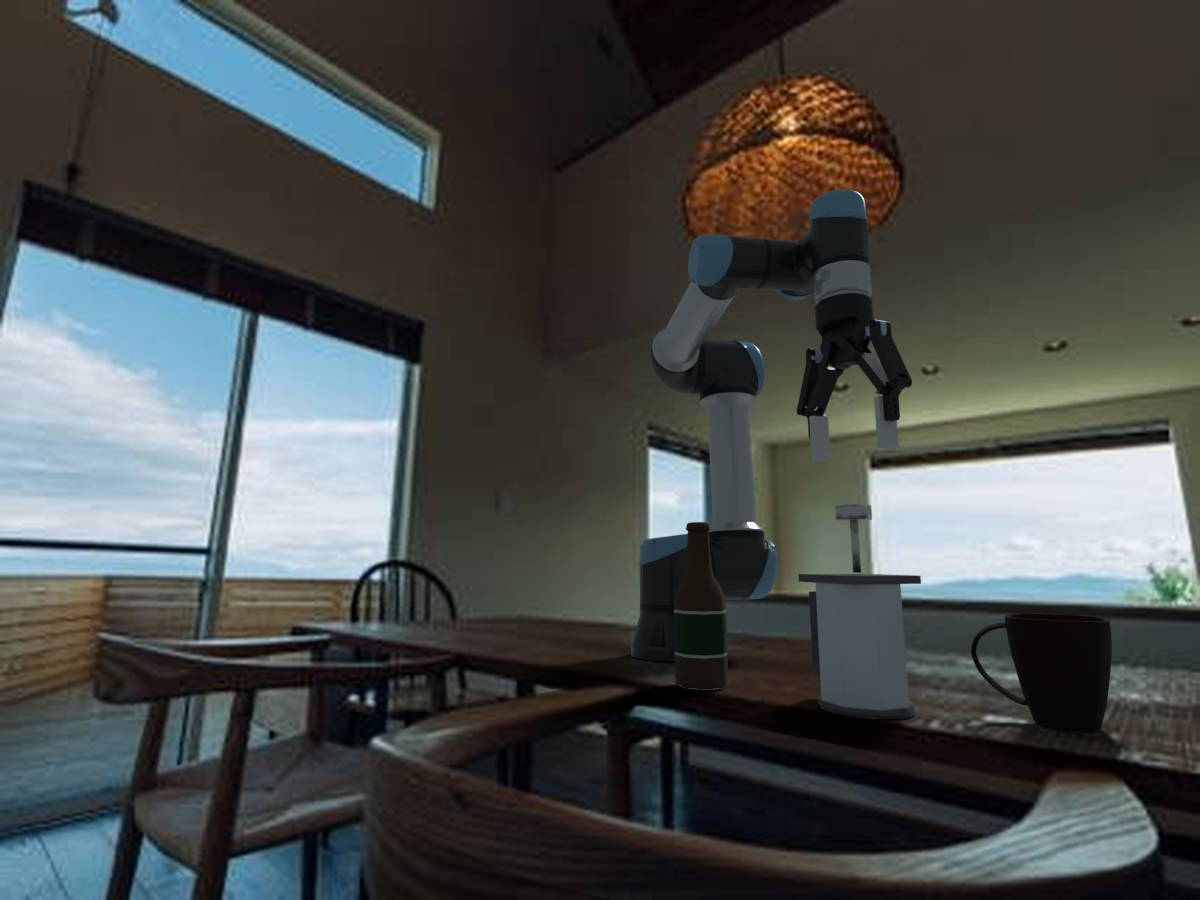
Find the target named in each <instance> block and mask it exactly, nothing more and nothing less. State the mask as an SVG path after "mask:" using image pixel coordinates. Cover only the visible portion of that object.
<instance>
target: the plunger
mask: <svg viewBox="0 0 1200 900" xmlns="http://www.w3.org/2000/svg"><path fill="white" fill-rule="evenodd" d="M834 506H835V505H834ZM834 508H835V521H840V522H841V521H843V522H845V521H846V522H847V521H848V522H849V528H850V543H851V544H850V545H851V558H852V559H851V560H852V561H851V562H852V573H853V574H862V563H861V561H862V560H861V547H860V546H861V545H860V531H859V529H860V528H859V521H871V520H873V515H872V514H873V513H872V511H873V510H872V505H871V504H842V505H836V506H835V507H834Z"/></svg>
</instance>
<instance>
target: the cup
mask: <svg viewBox="0 0 1200 900" xmlns="http://www.w3.org/2000/svg"><path fill="white" fill-rule="evenodd" d="M1004 620H1005V621H1003V622H997V623H991V624H990V625H988V626H985V627H983V628H982V629H980V630H979V631H978V632H976V634H975V636H974V637H973V638H972V643H971V647H970V649H971V650H970V652H971V653H970V654H971V659H972V661H973V663H974V666H975V667H976V669H977V671H978V673H979V674H980V675H981V676H982V678H984V680H985V681H986V682H987V683H988V684H989V685H990V686H991V687H992V688H994V689H995V690H996V691H998V692H999V693H1000V694H1001V695H1003V696H1004V697H1006V698H1008V699H1009V700H1010V701H1012V702H1014V703H1016V704H1018V705H1021V706H1027V708H1028V709H1029V710H1028V711H1029V712H1030V714H1031V717H1032V720H1033V721H1034V723H1035V724H1036V725H1037V726H1038V727H1039V728H1041V729H1046V730H1052V731H1058V732H1065V733H1074V734H1084V735H1094V734H1095V735H1096V734H1097V733H1099V732H1100V731H1101V729H1102V726H1103V723H1104V718H1105V714H1106V710H1107V705H1108V698H1109V692H1110V691H1109V690H1110V681H1111V670H1112V657H1113V653H1112V651H1113V646H1112V645H1113V644H1112V643H1113V642H1112V640H1113V639H1112V627H1111V621H1110V619H1109V618H1106V617H1100V616H1092V615H1090V616H1089V615H1078V614H1077V615H1074V614H1057V613H1056V614H1055V613H1054V614H1053V613H1026V612H1025V613H1023V612H1022V613H1021V612H1018V613H1017V612H1016V613H1009V614H1008V613H1007V614H1005V615H1004ZM999 629H1006V635H1007V636H1006V637H1007V641H1008V646H1009V650H1010V653H1011V658H1012V661H1013V666H1014V669H1015V671H1016V676H1017V678H1018V681H1019V685H1020V689H1021V691H1022V693H1023V694H1022V695H1023V697H1024V699H1023V698H1021V697H1018V696H1017V695H1014V694H1013V693H1011V692H1010V691H1008V690H1007V689H1005V688H1004V687H1002V686H1001V685H1000V683H998V682H996V681H995V679H993V677H991V676H990V675H989V674H988V673H987V671H986V670H985V669H984V667H983V666H982V664H981V662H980V659H979V657H978V654H977V648H978V644H979V641H980V639H981V638H982V637H983V636H985V635H986V634H987V633H989V632H992V631H994V630H999Z"/></svg>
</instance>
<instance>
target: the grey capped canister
mask: <svg viewBox="0 0 1200 900" xmlns="http://www.w3.org/2000/svg"><path fill="white" fill-rule="evenodd" d="M921 578H922V576H921V575H915V574H913V575H912V574H911V575H909V574H882V573H881V574H878V573H876V574H875V573H802V574H801V573H798V583H800V582H801V583H814V584H815V591H814V590H813V591H810V590H809V591H808V599H809V600H808V601H809V617H810V643H811V661H812V663H811V665H812V674H814V675H815V674H816V675H819V676H820V677H819V678H820V695H818V696H817V701H818V703H817V704H819V706H820V707H822V708H824V709H826V710H828V711H831V712H834V713H837V714H840V715H839V716H841V715H844V716H843V717H846V716H848V718H852V717H856V718H855V719H860V718H863V719H862V720H871V718H875V719H877V718H878V719H898V720H903V719H902V718H906V719H909V718H908V717H910V718H912V716H913V717H914V716H915V715H916V707H915V705H916V704H915V703H914V702H913V701H911V700H910V698H909V685H908V684H909V683H908V682H909V681H908V670H907V668H908V667H907V656H906V642H905V631H904V630H905V629H904V628H905V627H904V626H905V625H904V616H903V601H902V589H901V587H902V586H901V585H918V584H919V585H922V579H921ZM819 706H818V707H819ZM868 718H870V719H868Z"/></svg>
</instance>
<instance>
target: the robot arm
mask: <svg viewBox="0 0 1200 900" xmlns="http://www.w3.org/2000/svg"><path fill="white" fill-rule="evenodd" d="M865 203H866V202H865V199H864V197H863V195H862V194H861V193H859V192H858V191H856V190H852V189H842V188H841V189H833V190H831V191H828V192H824V193H823V194H821V195H819V196H817V197H816V198H815V199H814V200H813V202H811V204H810V207H809V217H808V222H809V229H808V230H807V231H806V232H805V233H804V234H803V235H802V236H801V237H800V238H799V239H798V240H786V239H776V238H774V239H773V238H760V237H759V238H758V237H751V236H750V237H747V236H739V235H728V234H724V233H723V234H722V233H718V234H701V235H698V236H697V237H696V238H695V239H693V241H692V244H691V245H690V246H691V247H690V252H689V255H688V258H687V259H688V260H687V264H688V265H687V272H688V274H687V275H688V278H689V280H690V283H689V285H688V286H687V288H686V290H685V292H684V294H683V296H682V298H681V299H680V302H678V305H677V307H676V308H675V311H674V313H673V314H672V316H671V318H670V320H669V321H668V323H667V325H666V327H665V328H663V329H661V330H660V331H659V332H658V333H657V334H656V335H655V337H654V338H653V340H652V342H651V345H650V347H649V352H648V353H649V355H648V357H649V358H648V359H649V364H650V368H651V370H652V372H653V373H654V376H655V377H656V379H658V380H659V381H660V383H661V384H662V385H664V386H665V387H666V388H668V389H670V390H672V391H674V392H677V393H681V394H690V395H691V394H692V395H699V404H700V406H701V407H702V408H704V409H705V411H706V412H707V423H708V424H707V425H708V427H707V429H708V447H709V468H710V469H709V470H710V473H709V474H710V489H711V491H710V493H711V511H712V512H711V513H712V524H711V525H709V526H710V529H711V530H709V531H708V532H709V543H710V555H711V566H712V571H713V576H714V578H715V579H716V581H717V582H718V583H719V585H720V586H721V589H722V592H723V594H724V597H725V601H726V600H727V601H730V600H732V601H735V600H736V601H739V600H740V601H747V600H759V599H763V598H765V597H766V596H768V594H770V592H771V591H772V588H773V586H774V585H775V583H776V582H775V581H776V580H777V579H776V578H777V574H778V566H779V562H778V561H779V560H778V552H777V550H776V546H775V544H774V543H773V542H772V541H771V540H768V539H765V530H764V528H762V527H761V526H760V525H759V524H758V523H757V521H756V520H757V518H756V507H755V506H756V503H755V489H754V488H755V487H754V471H753V455H752V438H751V435H752V434H751V421H750V408H751V407H752V406H753V405H754V404H756V401H757V398H756V397H757V396H760V394H761V393H762V391H763V389H764V386H765V381H764V379H766V367H765V366H766V365H765V362H764V358H763V355H762V353H761V350H760V349H759V348H758V347H757V346H756V345H755V344H754V343H752V342H747V341H741V340H737V339H731V340H723V339H707V338H708V336H709V335H710V333H711V332H712V330H713V328H714V327H715V326H716V324H717V323H718V321H719V320H720V318H721V317H722V315H723V314H724V312H725V310H727V308H728V307H729V305H730V304H731V302H732V300H733V299H734V298H735V296H736V295H737V293H739V291H740V289H752V290H753V289H755V290H759V289H760V290H771V291H772V290H773V291H774V292H775V293H776V295H778V296H780V297H781V298H783V299H784V300H786V301H790V302H798V301H802V300H804V299H806V298H807V297H809V296H810V295H813V294H814V295H813V296H814V303H815V304H816V305H815V306H814V314H815V315H814V316H815V317H814V318H815V329H816V331H817V332H818V333H819V334H820V336H821V342H820V343H821V344H820V346H819V347H816V348H810V347H809V348H807V349H806V350H805V367H804V373H803V377H802V382H801V388H800V392H799V397H798V401H797V406H796V415H798V416H802V417H806V420H807V431H808V435H807V436H808V439H809V440H810V453H811V455H810V457H811V458H810V459H811V462H818V463H831V446H830V445H831V443H830V429H829V426H830V425H829V416H827V415H826V414H825V413H826V410H827V407H828V405H829V402H830V400H831V397H832V395H833V392H834V389H835V387H836V384H837V382H838V379H839V377H841V376H842V375H843V374H844V371H845V370H848V369H850V368H851V367H853V366H858V368H860V369H861V371H862V372H863V373H864V375H865V376H866V377H867V379H868V380H869V381H870V382H871V384H872V385H873V386H874V387H875V389H876V391H875V392H874V393H875V394H877V395H876V396H874V397H873V401H874V402H873V403H874V415H875V416H874V417H875V430H876V431H875V432H876V446H877V448H878V449H888V450H896V449H900V448H899V447H900V446H899V431H898V421H900V417H901V413H900V411H901V410H900V395H901V394H902V391H903V390H905V389H906V388H907V389H908V388H910V387H911V386H912V384H913V380H912V377H911V375H910V373H909V371H908V369H907V366H906V364H905V362H904V360H903V358H902V356H901V353H900V352H899V349H898V348H897V345H896V342H895V341H894V338H893V335H892V327H891V323H890V321H885V320H879V319H874V306H873V299H872V297H871V296H872V295H873V289H872V287H873V286H872V279H871V268H870V267H871V266H870V261H871V260H870V247H869V246H870V244H869V228H868V222H869V218H868V217H867V212H866V204H865ZM870 343H871V344H872V346H873V348H874V349H872V348H871V347H870ZM874 350H875V351H874ZM687 539H688V533H685V534H675V535H667V536H660V537H651V538H646V539H644V540H643V541H642V542H641V543H640V548H639V557H638V558H639V559H638V560H639V561H638V565H639V617H638V620H637V624H636V627H635V631H634V634H633V636H632V639H631V640H632V641H631V644H630V655H631V657H633V658H635V659H639V660H645V661H653V662H672V663H673V662H674V663H675V640H674V601H675V595H676V592H677V589H678V586H679V585H680V583H681V581H682V580H683V578H684V577H685V572H686V564H687Z"/></svg>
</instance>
